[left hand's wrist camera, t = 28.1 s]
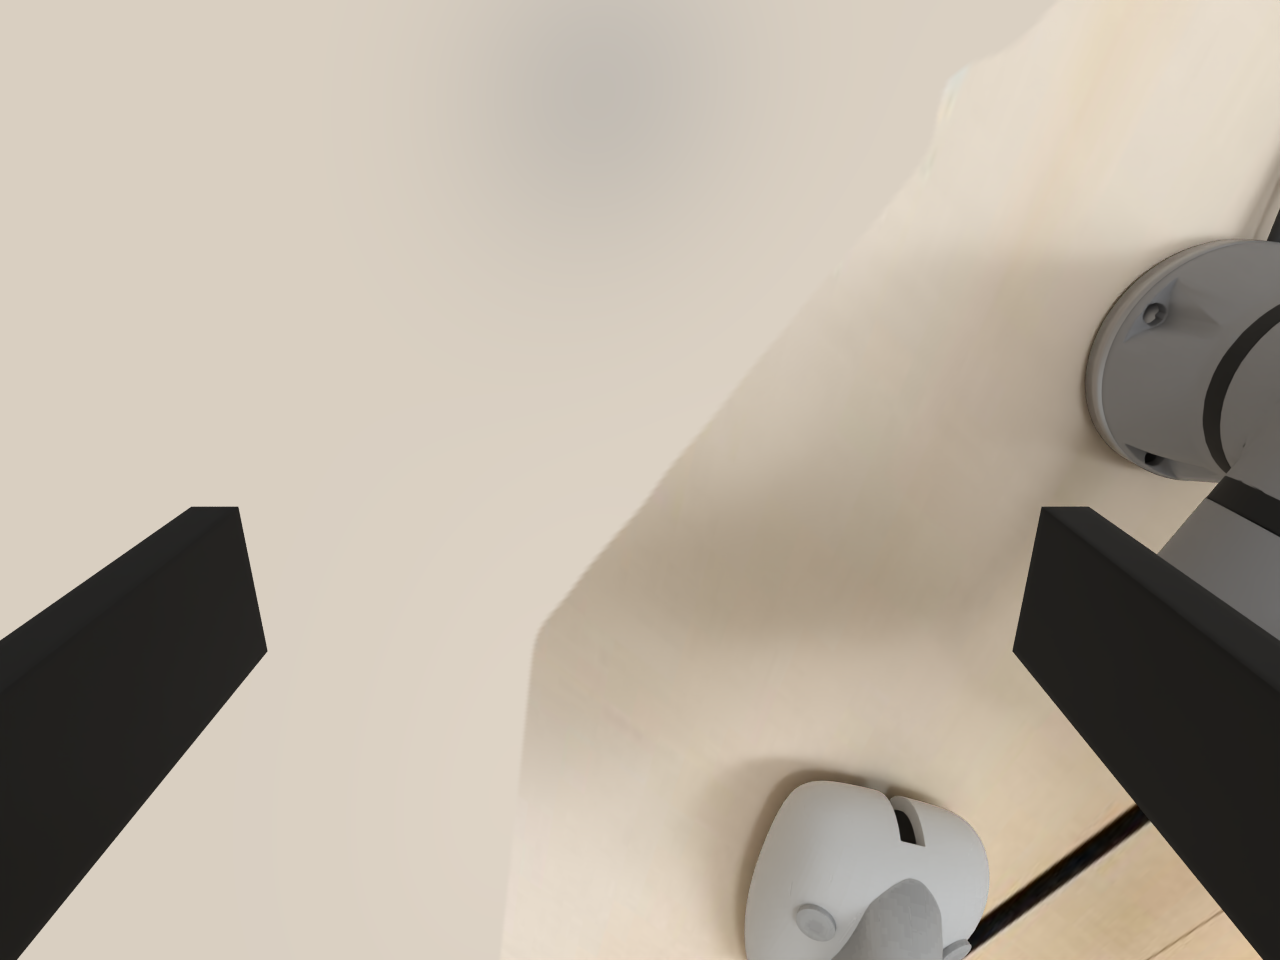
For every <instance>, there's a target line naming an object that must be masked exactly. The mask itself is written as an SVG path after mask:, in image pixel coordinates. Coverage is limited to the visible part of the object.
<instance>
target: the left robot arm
mask: <svg viewBox="0 0 1280 960" xmlns="http://www.w3.org/2000/svg"><path fill="white" fill-rule="evenodd" d="M1085 391H1086V401H1087V405H1088V410H1089V413H1090V416H1091V419H1092V421H1093V423H1094V426H1095V428H1096V429H1097V431H1098V433H1099V434H1100V436H1101V437H1102V438H1103V440H1104V441H1105V442H1106V443H1107V444H1108V445H1109V446H1110V447H1111V448H1112V449H1113V450H1114V451H1115V452H1116V453H1118V454H1119V455H1120V456H1122V457H1123V458H1125V459H1127V460H1129V461H1130V462H1132V463H1134V464H1136V465H1138V466H1139V467H1141V468H1143V469H1145V470H1147V471H1149V472H1151V473H1154V474H1156V475H1159V476H1163V477H1166V478H1171V479H1176V480H1186V481H1202V482H1215V483H1218V484H1217V486H1216V487H1215V488H1214V489H1213V490H1212V492H1211V493H1210V494H1209V495H1208V496H1207V497H1206V498H1205V499H1204V500H1203V501H1202V502H1201V504H1200V505H1199V506H1198V507H1197V508H1196V509H1195V511H1194V512H1193V513H1192V514H1191V515H1190V516H1189V518H1188V519H1187V520H1186V521H1185V522H1184V523H1183V525H1182V526H1181V527H1180V528H1179V529H1178V531H1177V532H1176V533H1175V534H1174V535H1173V536H1172V538H1171V539H1170V540H1169V541H1168V542H1167V543H1166V545H1165V546H1164V547H1163V548H1162V549H1161V551H1160V552H1159V553H1158V554H1155V553H1154V552H1153V551H1151V550H1150V549H1148V548H1147V547H1145V546H1144V545H1143V544H1141V543H1140V542H1138V541H1137V540H1135V539H1134V538H1133V537H1131V536H1130V535H1128V534H1127V533H1125V532H1124V531H1123V530H1121V529H1120V528H1118V527H1117V526H1115V525H1114V524H1113V523H1111V522H1110V521H1108V520H1107V519H1105V518H1104V517H1103V516H1101V515H1100V514H1098V513H1097V512H1095V511H1094V510H1093V509H1091V508H1090V507H1042V508H1041V513H1040V518H1039V523H1038V528H1037V533H1036V538H1035V542H1034V547H1033V552H1032V557H1031V562H1030V567H1029V572H1028V577H1027V582H1026V587H1025V592H1024V597H1023V602H1022V607H1021V612H1020V617H1019V622H1018V626H1017V631H1016V636H1015V641H1014V646H1013V652H1014V654H1015V655H1016V656H1017V657H1018V659H1019V660H1020V661H1021V662H1022V664H1023V665H1024V666H1025V667H1026V668H1027V670H1028V671H1029V672H1030V673H1031V675H1032V676H1033V677H1034V678H1035V680H1036V681H1037V682H1038V683H1039V684H1040V686H1041V687H1042V688H1043V689H1044V691H1045V692H1046V693H1047V694H1048V696H1049V697H1050V698H1051V699H1052V700H1053V702H1054V703H1055V704H1056V705H1057V707H1058V708H1059V709H1060V710H1061V712H1062V713H1063V714H1064V715H1065V716H1066V718H1067V719H1068V720H1069V721H1070V723H1071V724H1072V725H1073V726H1074V728H1075V729H1076V730H1077V731H1078V732H1079V734H1080V735H1081V736H1082V737H1083V739H1084V740H1085V741H1086V742H1087V744H1088V745H1089V746H1090V747H1091V748H1092V750H1093V751H1094V752H1095V753H1096V755H1097V756H1098V757H1099V758H1100V760H1101V761H1102V762H1103V763H1104V764H1105V766H1106V767H1107V768H1108V769H1109V771H1110V772H1111V773H1112V774H1113V776H1114V777H1115V778H1116V779H1117V780H1118V782H1119V783H1120V784H1121V785H1122V787H1123V788H1124V789H1125V790H1126V792H1127V793H1128V794H1129V795H1130V796H1131V798H1132V799H1133V800H1134V801H1135V803H1136V804H1137V805H1138V806H1139V808H1140V809H1141V810H1142V811H1143V812H1144V814H1145V815H1146V816H1147V817H1148V819H1149V820H1150V821H1151V822H1152V824H1153V825H1154V826H1155V827H1156V828H1157V830H1158V831H1159V832H1160V833H1161V835H1162V836H1163V837H1164V838H1165V840H1166V841H1167V842H1168V843H1169V844H1170V846H1171V847H1172V848H1173V849H1174V851H1175V852H1176V853H1177V854H1178V856H1179V857H1180V858H1181V859H1182V860H1183V862H1184V863H1185V864H1186V865H1187V867H1188V868H1189V869H1190V870H1191V872H1192V873H1193V874H1194V875H1195V876H1196V878H1197V879H1198V880H1199V881H1200V883H1201V884H1202V885H1203V886H1204V888H1205V889H1206V890H1207V891H1208V892H1209V894H1210V895H1211V896H1212V897H1213V899H1214V900H1215V901H1216V902H1217V904H1218V905H1219V906H1220V907H1221V908H1222V910H1223V911H1224V912H1225V913H1226V915H1227V916H1228V917H1229V918H1230V920H1231V921H1232V922H1233V923H1234V924H1235V926H1236V927H1237V928H1238V929H1239V931H1240V932H1241V933H1242V934H1243V936H1244V937H1245V938H1246V939H1247V940H1248V942H1249V943H1250V944H1251V945H1252V947H1253V948H1254V949H1255V950H1256V952H1257V953H1258V954H1259V955H1260V956H1261V958H1262V959H1263V960H1280V209H1279V212H1278V214H1277V217H1276V219H1275V222H1274V224H1273V227H1272V229H1271V232H1270V234H1269V237H1268V239H1267V241H1259V240H1246V239H1229V240H1219V241H1214V242H1209V243H1205V244H1201V245H1198V246H1194V247H1192V248H1189V249H1186V250H1184V251H1181V252H1179V253H1177V254H1175V255H1173V256H1171V257H1169V258H1168V259H1166V260H1164V261H1162V262H1161V263H1159V264H1157V265H1156V266H1155V267H1153V268H1152V269H1150V270H1149V271H1148V272H1146V273H1145V274H1144V275H1143V276H1141V277H1140V278H1139V279H1138V280H1137V281H1136V282H1135V283H1134V284H1133V285H1131V286H1130V287H1129V288H1128V289H1127V290H1126V292H1125V293H1124V294H1123V295H1122V296H1121V297H1120V298H1119V300H1118V301H1117V302H1116V303H1115V305H1114V306H1113V307H1112V309H1111V310H1110V312H1109V313H1108V315H1107V316H1106V318H1105V320H1104V321H1103V323H1102V325H1101V327H1100V329H1099V331H1098V333H1097V335H1096V338H1095V340H1094V342H1093V345H1092V348H1091V351H1090V355H1089V359H1088V363H1087V369H1086V378H1085ZM266 652H267V647H266V641H265V636H264V631H263V626H262V622H261V617H260V612H259V607H258V602H257V597H256V592H255V587H254V582H253V577H252V572H251V567H250V562H249V557H248V553H247V547H246V543H245V538H244V533H243V528H242V523H241V518H240V513H239V508H238V507H190V508H189V509H188V510H186V511H185V512H183V513H182V514H180V515H179V516H177V517H176V518H175V519H173V520H172V521H170V522H169V523H167V524H166V525H165V526H163V527H162V528H160V529H159V530H157V531H156V532H155V533H153V534H152V535H150V536H149V537H147V538H146V539H145V540H143V541H142V542H140V543H139V544H138V545H136V546H135V547H133V548H132V549H130V550H129V551H128V552H126V553H125V554H123V555H122V556H120V557H119V558H118V559H116V560H115V561H113V562H112V563H110V564H109V565H107V566H106V567H105V568H103V569H102V570H100V571H99V572H97V573H96V574H95V575H93V576H92V577H90V578H89V579H88V580H86V581H85V582H83V583H82V584H80V585H79V586H77V587H76V588H75V589H73V590H72V591H70V592H69V593H67V594H66V595H65V596H63V597H62V598H60V599H59V600H58V601H56V602H55V603H53V604H52V605H50V606H49V607H47V608H46V609H45V610H43V611H42V612H40V613H39V614H38V615H36V616H35V617H33V618H32V619H30V620H29V621H28V622H26V623H25V624H23V625H22V626H20V627H19V628H18V629H16V630H15V631H13V632H12V633H10V634H9V635H8V636H6V637H5V638H3V639H2V640H0V960H17V959H18V958H19V956H20V955H21V954H22V953H23V952H24V950H25V949H26V948H27V947H28V945H29V944H30V943H31V942H32V940H33V939H34V938H35V937H36V935H37V934H38V933H39V932H40V931H41V929H42V928H43V927H44V926H45V924H46V923H47V922H48V921H49V920H50V918H51V917H52V916H53V915H54V913H55V912H56V911H57V910H58V908H59V907H60V906H61V905H62V904H63V902H64V901H65V900H66V899H67V897H68V896H69V895H70V894H71V892H72V891H73V890H74V889H75V888H76V886H77V885H78V884H79V883H80V881H81V880H82V879H83V878H84V876H85V875H86V874H87V873H88V872H89V870H90V869H91V868H92V867H93V865H94V864H95V863H96V862H97V860H98V859H99V858H100V857H101V856H102V854H103V853H104V852H105V851H106V849H107V848H108V847H109V846H110V844H111V843H112V842H113V841H114V840H115V838H116V837H117V836H118V835H119V833H120V832H121V831H122V830H123V828H124V827H125V826H126V825H127V824H128V822H129V821H130V820H131V819H132V817H133V816H134V815H135V814H136V812H137V811H138V810H139V809H140V807H141V806H142V805H143V804H144V803H145V801H146V800H147V799H148V798H149V796H150V795H151V794H152V793H153V792H154V790H155V789H156V788H157V787H158V785H159V784H160V783H161V782H162V780H163V779H164V778H165V777H166V775H167V774H168V773H169V772H170V771H171V769H172V768H173V767H174V766H175V764H176V763H177V762H178V761H179V760H180V758H181V757H182V756H183V755H184V753H185V752H186V751H187V750H188V748H189V747H190V746H191V745H192V744H193V742H194V741H195V740H196V739H197V737H198V736H199V735H200V734H201V732H202V731H203V730H204V729H205V728H206V726H207V725H208V724H209V723H210V721H211V720H212V719H213V718H214V716H215V715H216V714H217V713H218V712H219V710H220V709H221V708H222V707H223V705H224V704H225V703H226V702H227V700H228V699H229V698H230V697H231V696H232V694H233V693H234V692H235V691H236V689H237V688H238V687H239V686H240V684H241V683H242V682H243V681H244V680H245V678H246V677H247V676H248V675H249V673H250V672H251V671H252V670H253V668H254V667H255V666H256V665H257V664H258V662H259V661H260V660H261V659H262V657H263V656H264V655H265V654H266Z"/></svg>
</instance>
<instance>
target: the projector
mask: <svg viewBox="0 0 1280 960" xmlns="http://www.w3.org/2000/svg"><path fill="white" fill-rule="evenodd" d="M988 890H989V865H988V859H987V855H986V851H985V848H984V846H983V843H982V841H981V839H980V838H979V836H978V834H977V833H976V832H975V830H974V829H973V828H972V827H971V826H970V825H969V824H968V822H966V821H965V820H964V819H963V818H961V817H960V816H958V815H957V814H955V813H953V812H951V811H949V810H946V809H944V808H941V807H938V806H935V805H932V804H929V803H925V802H922V801H918V800H914V799H910V798H907V797H903V796H894V797H892V798H891V799H890V800H888V798H887V797H886V796H885V795H884V794H883V793H882V792H880V791H878V790H874V789H870V788H866V787H861V786H857V785H852V784H847V783H841V782H834V781H812V782H808V783H805V784H802V785H800V786H799V787H797V788H796V789H795V790H793V791H792V792H791V793H790V795H789V796H788V797H787V799H786V800H785V801H784V803H783V804H782V806H781V808H780V809H779V811H778V813H777V815H776V817H775V819H774V821H773V823H772V825H771V827H770V830H769V832H768V834H767V836H766V839H765V841H764V844H763V847H762V849H761V852H760V854H759V857H758V860H757V863H756V866H755V869H754V873H753V877H752V880H751V884H750V889H749V893H748V899H747V905H746V914H745V949H746V956H747V960H961V959H962V958H963V957H965V956H966V954H967V953H968V952H969V951H970V949H971V945H970V944H969V942H968V941H967V940H968V938H969V937H970V936H971V934H972V933H973V932H974V930H975V928H976V927H977V925H978V923H979V921H980V919H981V917H982V915H983V911H984V908H985V905H986V902H987V897H988Z"/></svg>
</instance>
